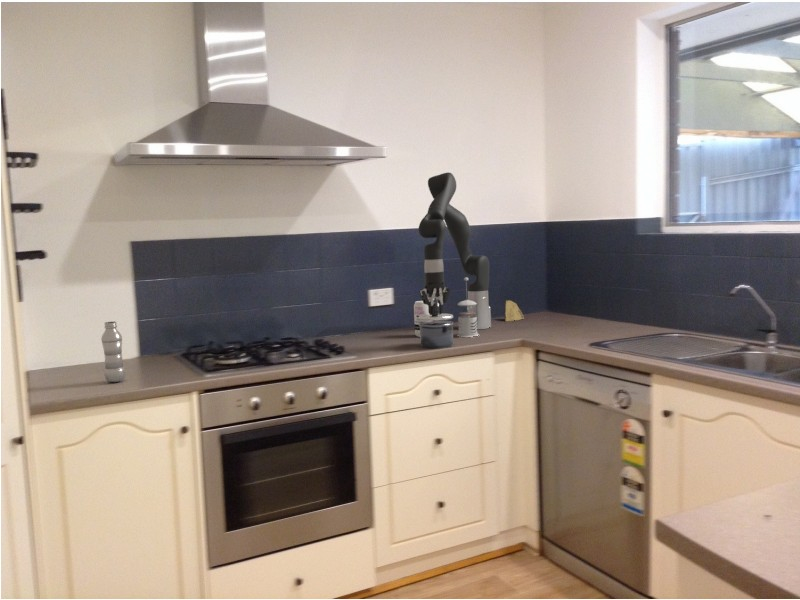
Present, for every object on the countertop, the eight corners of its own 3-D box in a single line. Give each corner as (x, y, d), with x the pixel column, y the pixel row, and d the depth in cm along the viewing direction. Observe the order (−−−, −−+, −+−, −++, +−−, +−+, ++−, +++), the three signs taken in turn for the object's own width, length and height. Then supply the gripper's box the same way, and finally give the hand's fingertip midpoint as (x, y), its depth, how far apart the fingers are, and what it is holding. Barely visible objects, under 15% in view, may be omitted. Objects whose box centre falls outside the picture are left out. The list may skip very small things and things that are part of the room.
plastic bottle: (107, 385, 219) (102, 324, 217) (103, 381, 225) (97, 322, 223) (128, 381, 223) (123, 322, 221) (123, 378, 229) (118, 320, 227)
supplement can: (434, 334, 296) (433, 300, 295) (433, 337, 288) (432, 302, 286) (415, 334, 297) (414, 300, 295) (414, 337, 289) (413, 302, 287)
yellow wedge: (523, 313, 335) (503, 311, 336) (526, 301, 329) (505, 298, 330) (523, 329, 327) (503, 326, 328) (526, 316, 321) (505, 314, 322)
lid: (440, 314, 275) (439, 300, 274) (460, 317, 264) (459, 302, 263) (412, 318, 268) (411, 303, 268) (431, 321, 257) (430, 306, 256)
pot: (438, 340, 278) (437, 319, 277) (464, 346, 263) (463, 323, 262) (410, 344, 271) (409, 322, 270) (435, 350, 256) (434, 327, 255)
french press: (454, 337, 285) (452, 278, 282) (460, 333, 296) (458, 276, 293) (477, 337, 282) (475, 278, 279) (482, 333, 293) (480, 275, 290)
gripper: (443, 269, 271) (444, 312, 273) (413, 271, 263) (415, 315, 265) (454, 269, 264) (455, 313, 266) (424, 272, 257) (426, 317, 259)
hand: (435, 314), depth 266 cm, fingers closed on lid, 3 cm apart
